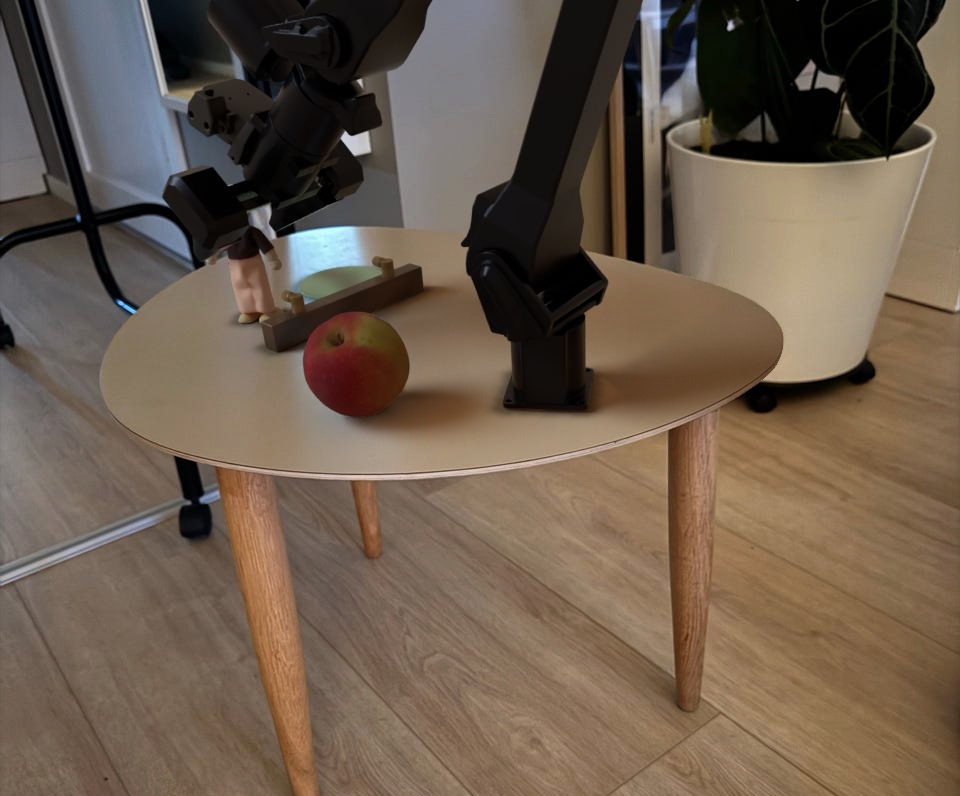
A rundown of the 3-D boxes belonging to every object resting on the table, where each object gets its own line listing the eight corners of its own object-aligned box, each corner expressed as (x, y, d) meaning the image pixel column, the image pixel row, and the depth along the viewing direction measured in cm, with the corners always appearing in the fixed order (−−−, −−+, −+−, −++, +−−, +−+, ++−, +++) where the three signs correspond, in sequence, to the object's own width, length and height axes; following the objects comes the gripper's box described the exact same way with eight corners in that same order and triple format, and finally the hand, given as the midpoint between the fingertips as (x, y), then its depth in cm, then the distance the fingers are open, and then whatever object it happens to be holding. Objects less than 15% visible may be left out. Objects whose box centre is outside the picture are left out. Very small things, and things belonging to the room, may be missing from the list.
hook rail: (277, 352, 84) (268, 309, 82) (199, 319, 92) (189, 279, 89) (430, 287, 95) (426, 247, 93) (349, 263, 103) (343, 225, 100)
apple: (303, 402, 75) (285, 307, 71) (400, 381, 77) (389, 288, 73) (323, 445, 69) (305, 345, 65) (428, 421, 71) (417, 322, 67)
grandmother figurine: (300, 309, 92) (276, 177, 85) (289, 325, 89) (264, 189, 82) (224, 311, 93) (195, 181, 86) (211, 326, 90) (180, 192, 83)
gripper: (321, 29, 82) (256, 149, 93) (146, 67, 69) (96, 200, 81) (401, 131, 82) (326, 238, 94) (241, 187, 69) (178, 302, 81)
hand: (237, 241), depth 87 cm, fingers open, 9 cm apart
